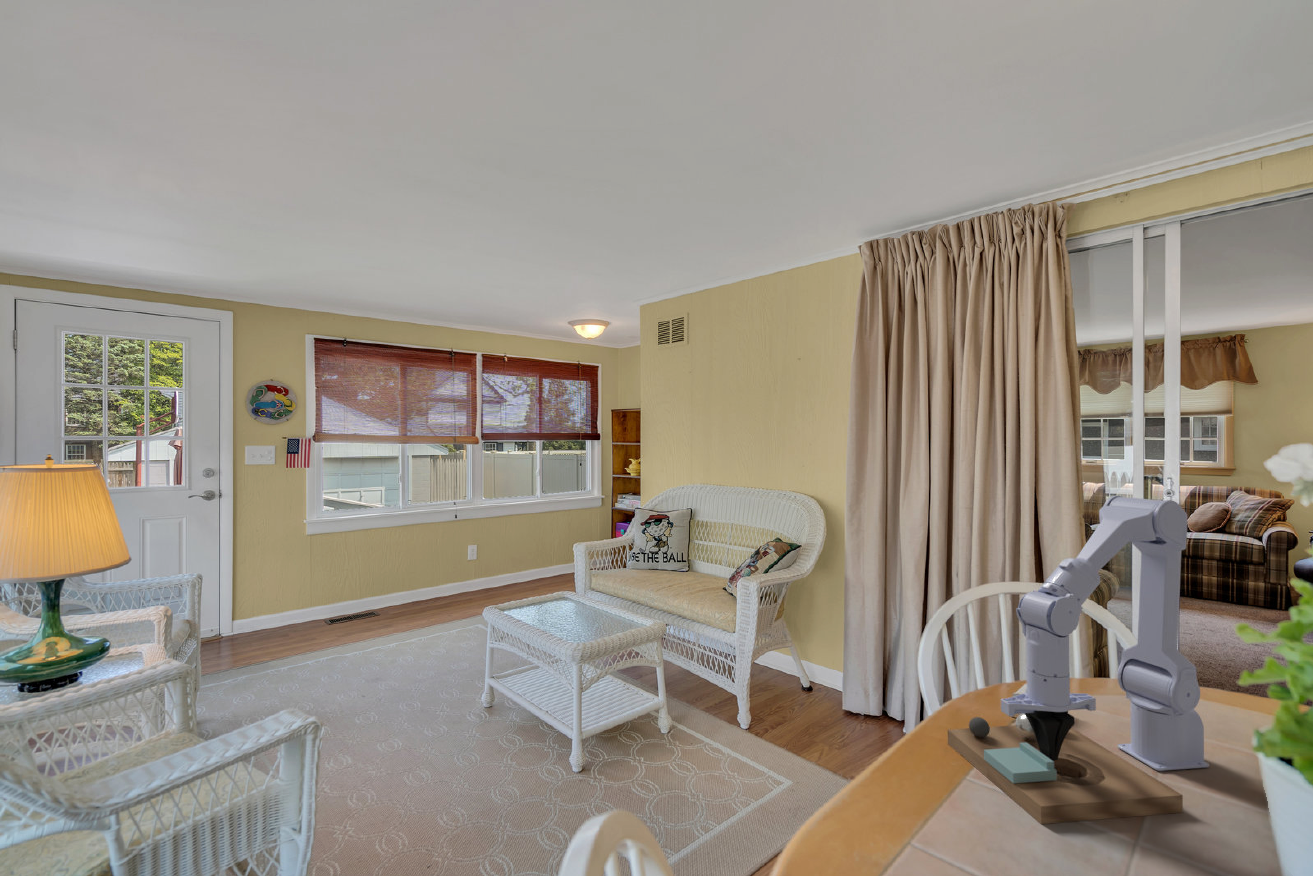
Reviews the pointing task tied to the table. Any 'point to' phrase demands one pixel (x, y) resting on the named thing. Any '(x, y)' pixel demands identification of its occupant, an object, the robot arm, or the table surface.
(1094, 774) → the wooden board
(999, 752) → the cover
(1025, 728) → the steel ball
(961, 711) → the table surface
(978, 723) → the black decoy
